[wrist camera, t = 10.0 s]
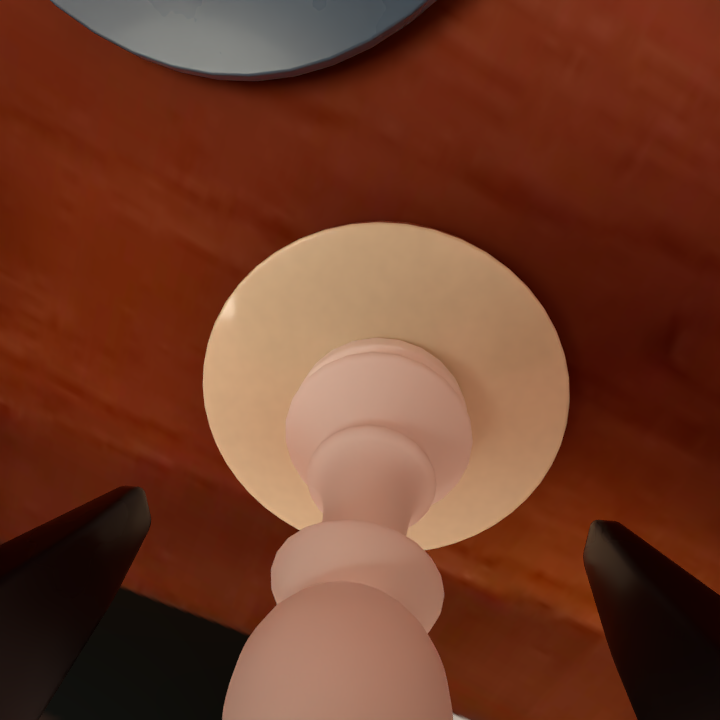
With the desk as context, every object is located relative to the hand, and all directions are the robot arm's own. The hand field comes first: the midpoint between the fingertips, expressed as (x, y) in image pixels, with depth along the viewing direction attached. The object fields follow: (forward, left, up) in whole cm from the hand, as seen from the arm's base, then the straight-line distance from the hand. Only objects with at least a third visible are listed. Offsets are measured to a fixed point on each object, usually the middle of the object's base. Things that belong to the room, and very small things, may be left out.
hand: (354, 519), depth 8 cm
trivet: (0, 0, -5) cm, 5 cm away
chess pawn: (0, 0, -5) cm, 5 cm away
